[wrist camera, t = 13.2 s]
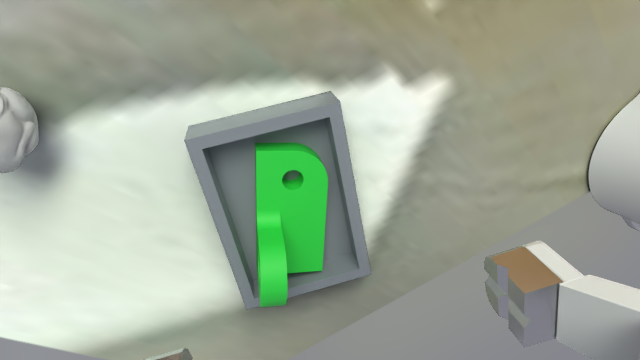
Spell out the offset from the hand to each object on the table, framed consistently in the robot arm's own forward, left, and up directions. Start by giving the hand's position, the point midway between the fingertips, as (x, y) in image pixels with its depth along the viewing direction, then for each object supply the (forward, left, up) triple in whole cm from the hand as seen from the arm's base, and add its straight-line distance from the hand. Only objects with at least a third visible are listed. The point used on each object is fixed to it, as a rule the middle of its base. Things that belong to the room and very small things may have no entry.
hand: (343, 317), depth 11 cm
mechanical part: (+1, +10, -25) cm, 27 cm away
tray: (+1, +10, -26) cm, 28 cm away
